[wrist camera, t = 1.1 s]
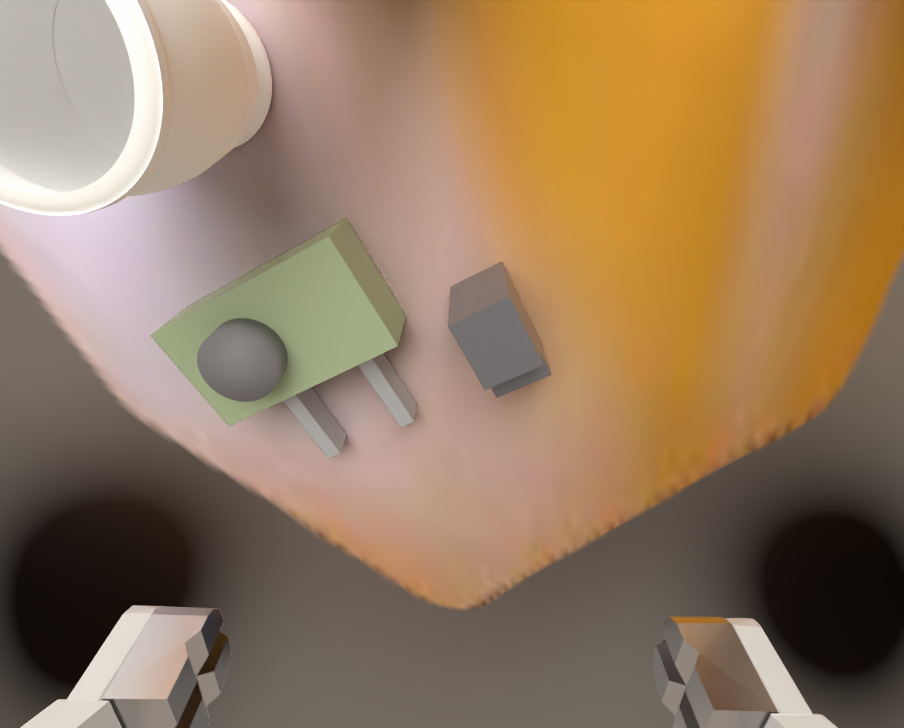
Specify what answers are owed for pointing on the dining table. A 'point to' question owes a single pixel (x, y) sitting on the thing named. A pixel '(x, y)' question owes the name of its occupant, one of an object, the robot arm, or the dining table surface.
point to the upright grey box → (496, 332)
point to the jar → (121, 97)
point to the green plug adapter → (294, 336)
